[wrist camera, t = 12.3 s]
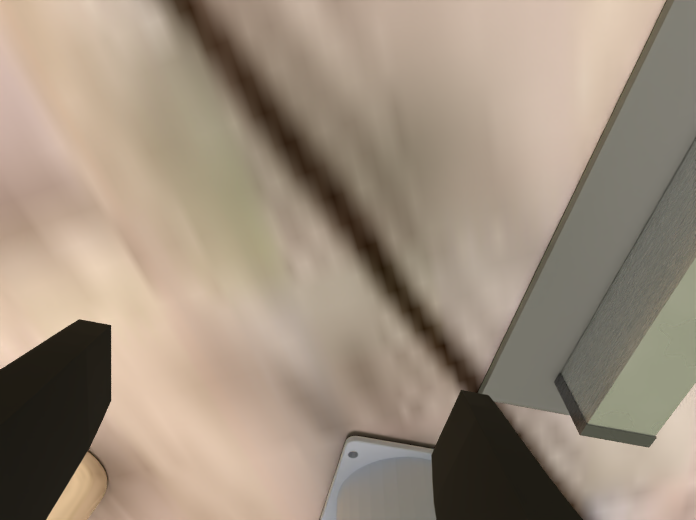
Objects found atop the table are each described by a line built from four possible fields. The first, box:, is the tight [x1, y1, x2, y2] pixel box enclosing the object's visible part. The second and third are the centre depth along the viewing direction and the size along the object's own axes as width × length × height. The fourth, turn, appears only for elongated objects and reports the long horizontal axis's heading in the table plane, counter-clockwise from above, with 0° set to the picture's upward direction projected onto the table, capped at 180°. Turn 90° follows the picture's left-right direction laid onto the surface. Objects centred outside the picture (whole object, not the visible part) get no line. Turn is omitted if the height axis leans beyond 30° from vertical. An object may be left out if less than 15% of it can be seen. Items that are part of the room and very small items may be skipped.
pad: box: [478, 0, 696, 415], centre depth 19 cm, size 22×9×1 cm, turn 167°
